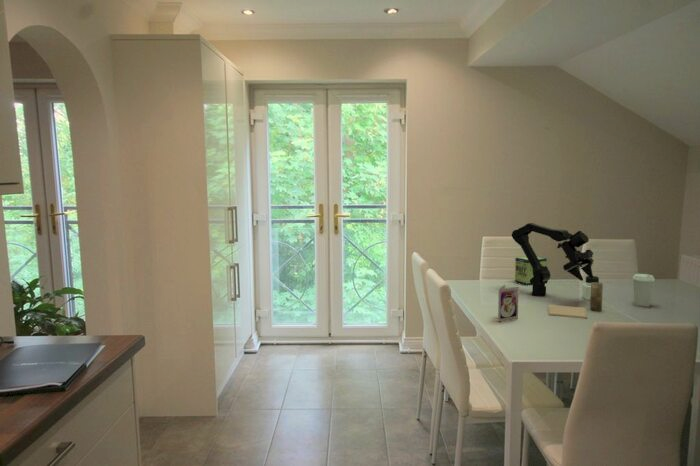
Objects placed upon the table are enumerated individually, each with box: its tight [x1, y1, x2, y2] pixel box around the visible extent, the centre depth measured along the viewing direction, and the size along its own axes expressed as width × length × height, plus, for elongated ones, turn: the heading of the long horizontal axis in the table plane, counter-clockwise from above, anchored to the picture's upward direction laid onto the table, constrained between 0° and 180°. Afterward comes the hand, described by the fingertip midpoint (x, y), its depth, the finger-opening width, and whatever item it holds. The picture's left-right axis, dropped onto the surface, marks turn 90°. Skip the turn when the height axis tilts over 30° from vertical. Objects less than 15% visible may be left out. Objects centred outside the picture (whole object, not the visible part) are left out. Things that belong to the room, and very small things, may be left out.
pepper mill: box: [589, 282, 604, 312], centre depth 223 cm, size 5×5×13 cm
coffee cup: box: [631, 273, 656, 308], centre depth 230 cm, size 10×10×15 cm
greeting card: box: [497, 284, 520, 323], centre depth 211 cm, size 11×7×15 cm, turn 114°
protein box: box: [514, 256, 548, 286], centre depth 283 cm, size 10×16×16 cm
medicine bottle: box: [582, 275, 600, 301], centre depth 244 cm, size 7×7×12 cm
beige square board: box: [548, 304, 588, 319], centre depth 220 cm, size 16×16×1 cm
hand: (587, 279), depth 231 cm, fingers open, 9 cm apart
